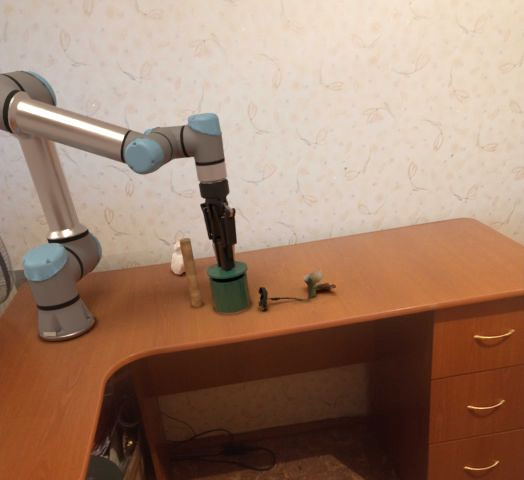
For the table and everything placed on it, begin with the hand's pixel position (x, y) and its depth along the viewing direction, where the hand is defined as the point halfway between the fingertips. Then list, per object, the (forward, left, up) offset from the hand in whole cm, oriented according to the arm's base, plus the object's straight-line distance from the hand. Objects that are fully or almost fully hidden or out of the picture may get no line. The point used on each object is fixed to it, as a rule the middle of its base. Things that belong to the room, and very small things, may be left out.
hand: (226, 266), depth 146 cm
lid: (0, 0, -1) cm, 1 cm away
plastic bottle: (-9, +8, -12) cm, 17 cm away
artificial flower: (+13, +13, -12) cm, 22 cm away
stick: (-10, -5, -12) cm, 16 cm away
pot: (0, 0, -12) cm, 12 cm away
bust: (-36, +11, -12) cm, 40 cm away
